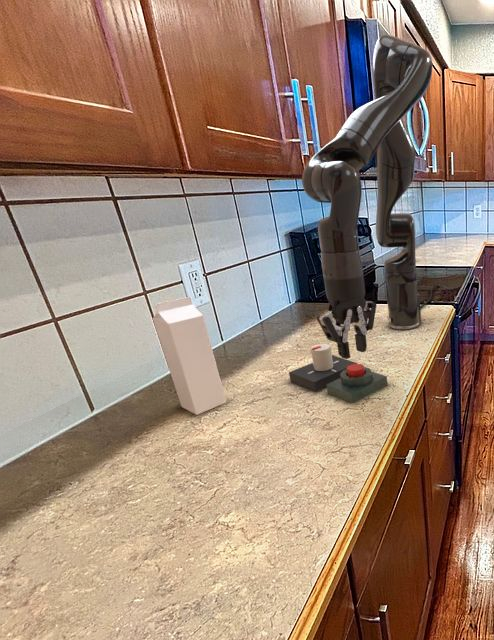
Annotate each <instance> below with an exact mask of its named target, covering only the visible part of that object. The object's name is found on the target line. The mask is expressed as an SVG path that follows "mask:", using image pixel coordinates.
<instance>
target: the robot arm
mask: <svg viewBox="0 0 494 640" xmlns="http://www.w3.org/2000/svg"><path fill="white" fill-rule="evenodd" d="M372 58H373V59H372V76H373V88H374V89H373V91H374V99H373V100H371V101H369V102H367V103H364V104H363V105H360V106H359V107H358V108H356V109H355V110H354V111H353V112H352V113H351V114H350V115H349V116H348V117H347V119H346V120H345V122H344V123H343V125H342V126H341V128H340V129H339V130H338V132H337V133H336V136H335V137H334V138H333V139H331V141H329V142H328V143H327V144H325V145H324V146H323V147H322V148H321V149H319V151H317V152H316V153H315V154H314V155H313V156H312V157H311V158H310V159H309V160H308V162H307V163H306V165H305V166H304V169H303V171H302V175H301V184H302V188H303V191H304V193H305V194H306V196H307V197H309V199H311V200H313V201H314V202H318V203H326V204H330V211H329V216H326V217H322V218H320V220H319V221H318V222H317V233H318V239H319V246H320V250H321V251H320V255H321V257H320V258H321V259H320V260H321V269H322V276H323V283H324V289H325V290H324V291H325V297H326V299H327V301H328V308H327V311H326V312H325V313H324V314H318V315H317V316H316V320H317V323H318V324H319V326H320V328H321V330H322V332H323V334H324V335H325V338H326V339H327V340H328V341H331V342H334V343H336V347H337V353H338V356H339V357H340V358H343V359H346V360H349V359H351V351H350V345H349V341H348V338H349V332H350V331H351V325H352V327H353V330H354V332H355V334H354V340H355V345H356V346H355V347H356V351H357V352H360V353H364V352H365V353H366V351H367V346H368V344H367V336H366V335H367V334H368V331H372V330H373V329H374V324H375V318H376V310H377V303H376V302H375V301H371V300H366V299H365V296H366V286H365V285H366V284H365V277H364V267H363V260H362V256H361V252H360V243H359V235H358V233H359V232H358V222H359V217H360V209H361V203H362V195H363V194H362V193H363V187H362V185H363V184H362V179H361V177H360V174H359V172H358V171H360V170H362V169H365V168H366V167H367V166H368V165H369V164H370V162H371V161H372V159H373V157H374V156H375V154H376V182H377V183H376V185H377V199H376V200H377V201H376V213H375V214H376V215H375V237H376V241H377V243H378V245H379V246H380V247H382V248H387V249H388V248H402V249H401V251H400V252H399V253H397V254H395V256H392V257H390V258H387V259H386V260H385V261H384V262H383V266H384V278H385V288H386V300H387V301H386V302H387V314H388V315H387V316H386V317H387V321H388V326H389V328H391V329H394V330H411V329H416V328H417V327H419V326H420V324H421V323H422V314H421V309H422V308H423V307H425V306H426V305H427V304H428V303H429V302H430V301H431V300H432V299H433V291H434V290H435V289H436V288H440V285H439V284H435V285H433V287H432V288H431V289H430V290H429V292H430V294H429V297H428V299H427V300H426V301H424V302H423V303H422V304H421V296H420V293H419V292H418V283H417V282H418V279H417V264H416V263H417V262H416V258H417V257H416V224H415V220H414V217H413V216H412V214H410V213H407V212H404V213H401V212H400V213H392V212H393V210H394V208H395V205H396V204H397V202H398V201H399V200H400V199H401V198H402V197H403V195H404V194H405V193H406V191H408V189H409V187H410V186H411V185H412V182H413V180H414V178H415V171H416V169H415V167H416V148H415V145H414V142H413V139H412V137H411V135H410V133H409V130H408V128H407V126H406V124H405V121H404V120H403V118H405V116H407V115H408V113H409V112H410V111H411V110H412V109H413V108H414V107H415V106H416V105H417V104H418V103H419V102H420V101H421V99H422V98H423V97H424V95H425V94H426V92H427V90H428V88H429V86H430V83H431V80H432V76H433V59H432V56H431V53H430V52H429V51H428V50H427V49H425V48H424V47H422V46H420V45H418V44H415V43H412V42H410V41H407V40H405V39H402V38H400V37H397V36H394V35H391V34H382V35H380V37H378V39H377V41H376V44H375V47H374V50H373V57H372Z"/></svg>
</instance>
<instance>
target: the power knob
mask: <svg viewBox="0 0 494 640" xmlns="http://www.w3.org/2000/svg"><path fill="white" fill-rule="evenodd" d="M331 347H332V346H331V345H330V344H328V343H319V344H315V345H312V346H310V352H311V359H312V363H313V365H314V369H315V370H316V371H326V370H329V369H331V368H333V360H332V355H333V353H332V348H331Z"/></svg>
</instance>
